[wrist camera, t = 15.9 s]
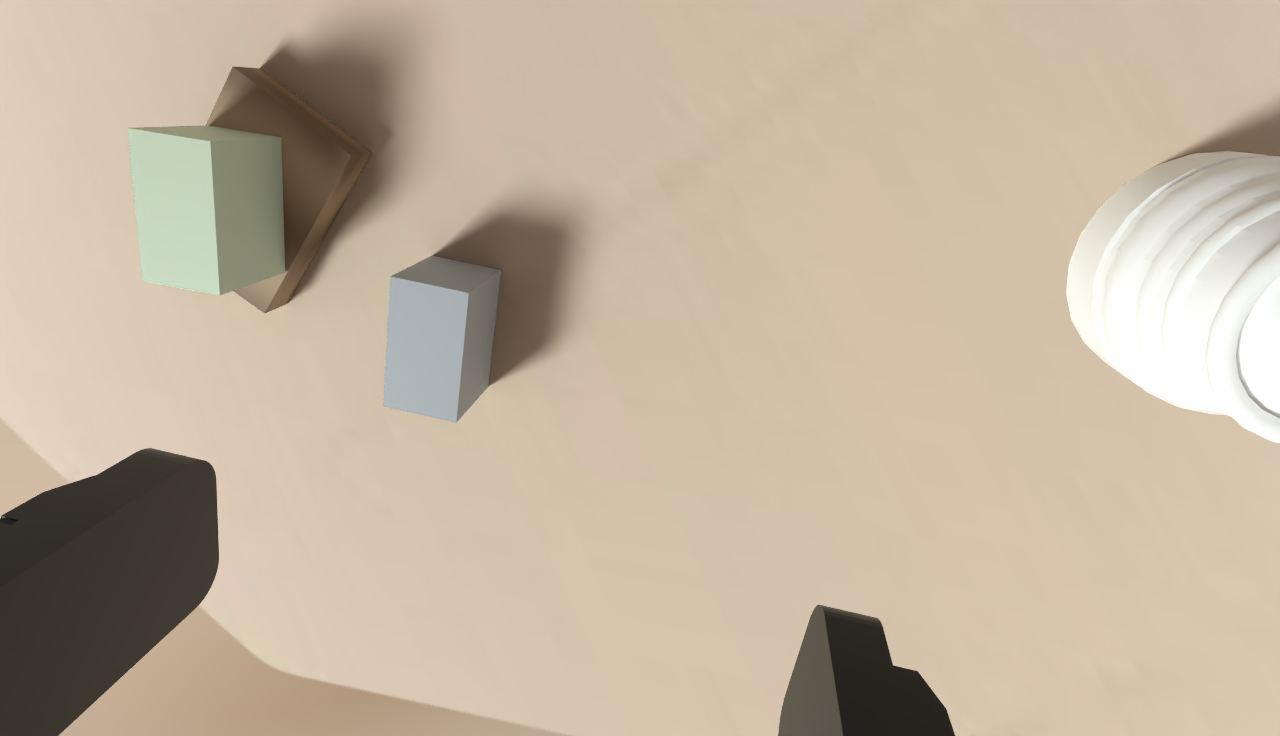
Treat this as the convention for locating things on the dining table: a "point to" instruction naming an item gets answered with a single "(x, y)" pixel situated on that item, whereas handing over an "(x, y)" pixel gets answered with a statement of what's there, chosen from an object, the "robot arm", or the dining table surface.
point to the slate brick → (440, 337)
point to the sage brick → (207, 206)
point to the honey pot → (1189, 285)
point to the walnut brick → (292, 170)
